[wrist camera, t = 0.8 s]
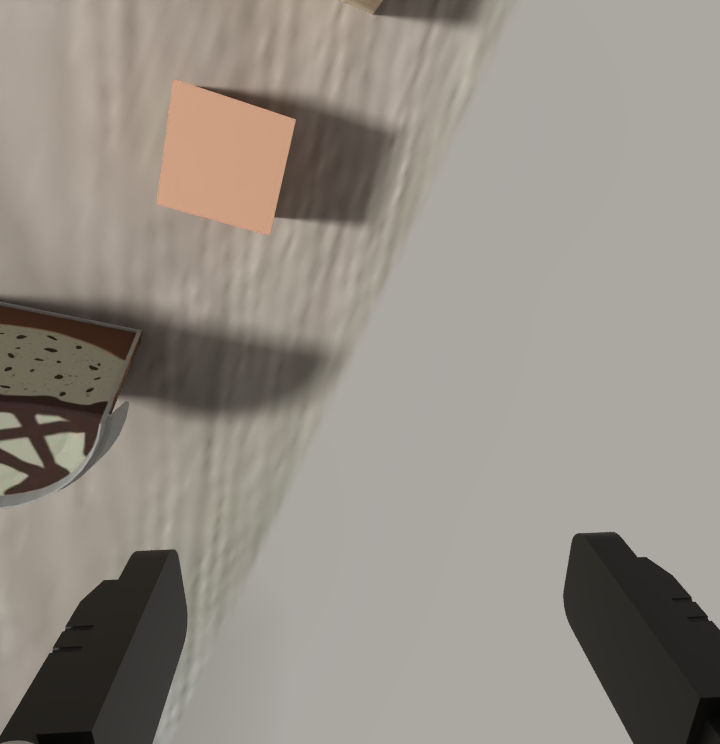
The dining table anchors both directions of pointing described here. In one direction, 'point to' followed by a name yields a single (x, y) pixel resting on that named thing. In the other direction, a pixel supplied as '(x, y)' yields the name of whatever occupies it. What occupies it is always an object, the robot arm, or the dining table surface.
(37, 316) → the food container
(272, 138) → the terracotta cube
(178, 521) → the dining table surface
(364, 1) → the birch block
